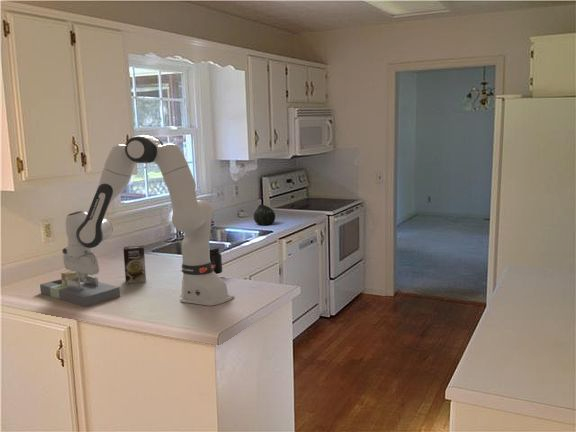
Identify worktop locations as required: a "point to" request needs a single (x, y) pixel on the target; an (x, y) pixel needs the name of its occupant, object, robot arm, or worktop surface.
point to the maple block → (69, 276)
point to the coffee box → (134, 264)
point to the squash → (264, 215)
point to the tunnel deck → (81, 291)
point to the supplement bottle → (216, 259)
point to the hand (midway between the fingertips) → (83, 282)
